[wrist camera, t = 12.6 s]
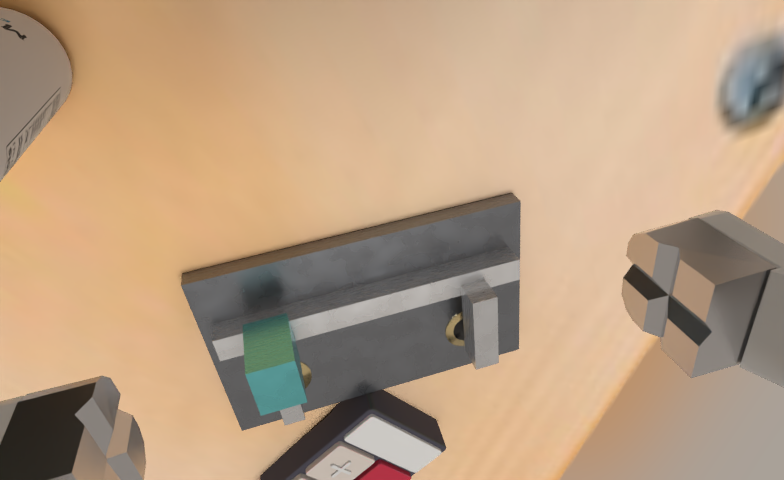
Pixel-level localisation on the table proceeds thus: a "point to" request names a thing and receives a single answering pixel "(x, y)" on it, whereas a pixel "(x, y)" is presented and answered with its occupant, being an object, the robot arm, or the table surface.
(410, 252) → the hole plate
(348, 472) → the calculator
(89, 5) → the table surface
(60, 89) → the energy drink can
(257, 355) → the slider
